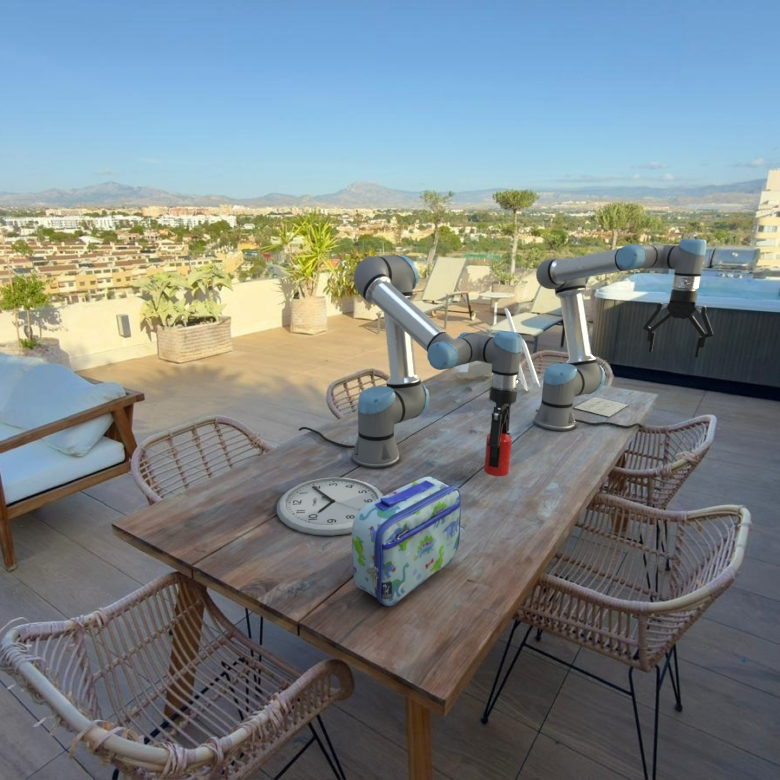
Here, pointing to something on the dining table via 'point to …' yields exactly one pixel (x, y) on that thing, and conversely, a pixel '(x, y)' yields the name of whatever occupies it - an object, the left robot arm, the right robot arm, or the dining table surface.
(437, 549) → the lunch box
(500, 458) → the canister
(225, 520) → the dining table surface
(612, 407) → the invitation card
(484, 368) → the white plastic object
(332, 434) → the dining table surface
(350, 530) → the wall clock
